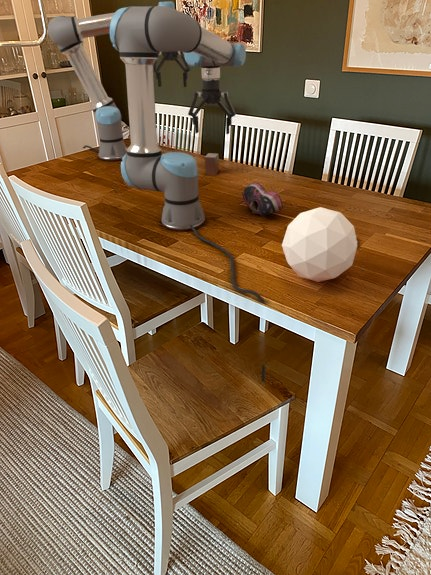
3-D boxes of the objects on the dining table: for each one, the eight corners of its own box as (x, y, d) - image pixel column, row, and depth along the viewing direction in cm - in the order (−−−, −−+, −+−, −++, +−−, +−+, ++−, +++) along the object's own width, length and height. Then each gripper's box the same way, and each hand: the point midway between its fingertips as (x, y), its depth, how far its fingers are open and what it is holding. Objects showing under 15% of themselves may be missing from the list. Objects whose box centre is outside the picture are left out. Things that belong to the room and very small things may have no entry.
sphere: (325, 304, 123) (342, 278, 104) (265, 266, 127) (271, 234, 108) (360, 253, 127) (382, 220, 109) (301, 218, 132) (312, 180, 113)
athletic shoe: (254, 181, 170) (227, 189, 167) (283, 176, 151) (253, 185, 147) (260, 210, 173) (234, 218, 170) (290, 209, 154) (261, 219, 150)
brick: (208, 170, 204) (208, 153, 200) (218, 170, 203) (218, 153, 199) (205, 174, 200) (204, 156, 195) (215, 174, 199) (215, 157, 194)
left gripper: (142, 40, 215) (147, 87, 226) (191, 39, 210) (193, 87, 221) (147, 39, 221) (152, 85, 232) (195, 38, 216) (197, 85, 227)
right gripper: (178, 80, 179) (182, 134, 190) (239, 80, 174) (239, 136, 185) (184, 77, 185) (187, 130, 196) (242, 78, 180) (242, 131, 191)
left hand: (172, 86), depth 227 cm, fingers open, 13 cm apart
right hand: (212, 133), depth 191 cm, fingers open, 13 cm apart
